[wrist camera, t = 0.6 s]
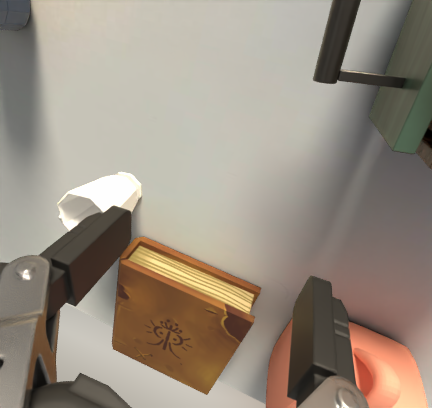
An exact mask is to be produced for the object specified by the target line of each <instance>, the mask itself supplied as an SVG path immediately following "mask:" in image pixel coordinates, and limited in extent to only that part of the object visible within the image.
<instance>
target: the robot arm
mask: <svg viewBox="0 0 432 408" xmlns="http://www.w3.org/2000/svg"><path fill="white" fill-rule="evenodd" d="M130 240H131V211H130V210H127V209H124V208H121V207H118V206H115V205H113V206H111V207H110V208H109V209H107V210H106V211H105V212H104V213H100V212H98V213H95V214H93V215H90V216H88V217H86V218H85V219H84V220H82V221H81V222H80V223H79V224H78V225H77V226H75V227H74V228H72V229H71V230H70V232H67V233H66V234H65V235H63V236H62V237H61V238H60V239H58V240H57V241H56V242H55V243H53V244H52V245H51V246H50V247H48V248H47V249H46V250H45V251H43V252H42V253H41V254H40V255H38V256H37V255H29V256H24V257H20V258H17V259H15V260H13V261H12V262H10V263H1V262H0V408H131V407H130V406H129V405H128V404H127V403H126V402H125V401H124V400H123V399H122V398H121V397H120V396H119V395H118V394H117V393H116V392H114V391H113V390H112V389H111V388H110V387H109V386H108V385H106V384H103V383H101V382H99V381H97V380H95V379H92V378H90V377H88V376H86V375H84V374H82V373H80V374H79V375H78V377H77V378H76V380H75V381H63V382H57V372H56V350H57V339H58V329H59V317H60V308H61V307H62V306H63V305H64V304H65V303H69V304H71V305H73V306H76V305H77V304H78V303H79V302H80V301H81V300H82V299H83V298H84V296H85V295H86V294H87V293H88V292H89V291H90V290H91V288H92V287H93V286H94V285H95V284H96V283H97V282H98V280H99V279H100V278H101V277H102V276H103V275H104V274H105V272H106V271H107V270H108V269H109V268H110V267H111V266H112V265H113V263H114V262H115V261H116V260H117V259H118V258H119V257H120V255H121V254H122V253H123V252H124V251H125V250H126V248H127V247H128V245H129V243H130ZM348 327H349V322H348V314H347V311H346V309H345V307H344V306H343V304H342V302H341V300H339V299H337V298H334V297H332V286H331V283H330V282H329V281H326V280H323V279H320V278H317V277H315V276H310V277H309V279H308V280H307V282H306V284H305V286H304V287H303V289H302V291H301V293H300V294H299V296H298V298H297V300H296V302H295V306H294V310H293V320H292V334H291V348H290V361H289V375H288V389H287V397H289V398H291V399H293V400H296V408H369V405H368V402H367V400H366V398H365V396H364V395H363V393H362V392H361V391H360V389H359V388H358V387H357V384H356V378H355V370H354V362H353V354H352V346H351V339H350V330H349V328H348Z"/></svg>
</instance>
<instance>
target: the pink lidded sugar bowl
mask: <svg viewBox="0 0 432 408" xmlns="http://www.w3.org/2000/svg"><path fill="white" fill-rule="evenodd" d="M292 320H293V318H292V319H291V321H290V322H289V324H288V325H287V327H286V328H285V330H284V331H283V333H282V334H281V336H280V338H279V339H278V341H277V343H276V344H275V346H274V348H273V351H272V354H271V358H270V362H269V368H268V377H267V391H266V408H296V400H293V399H291V398H289V397H287V389H288V375H289V361H290V348H291V334H292ZM348 322H349V321H348ZM348 328H349V330H350V339H351V346H352V354H353V362H354V370H355V378H356V384H357V387H358V388H359V389H360V391H361V392H362V393H363V395H364V396H365V398H366V400H367V402H368V405H369V408H428V405H427V401H426V396H425V392H424V388H423V384H422V380H421V377H420V373H419V370H418V367H417V364H416V362H415V360H414V358H413V356H412V354H411V352H410V351H409V349H408V348H407V347H406V346H404V345H402V344H400V343H398V342H396V341H394V340H392V339H389V338H387V337H385V336H383V335H380V334H378V333H376V332H374V331H371V330H369V329H367V328H364V327H362V326H359V325H357V324H354V323H352V322H349V327H348Z"/></svg>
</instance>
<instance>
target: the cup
mask: <svg viewBox="0 0 432 408" xmlns="http://www.w3.org/2000/svg"><path fill="white" fill-rule="evenodd" d="M141 196H142V191H141V184H140V183H139V182H138V181H137V180H136V179H135V177H134V176H133V175H132V174H128V173H123V172H119V173H118V174H117V175H112V176H108V177H104V178H100V179H98V180H96V181H93V182H91V183H88V184H86V185H83V186H81V187H78V188H76V189H73V190H71V191H68V192H67V193H66V194H65V195H64V197H63V198H62V199H61V200H60V201H59V202H58V203H57V205H58V209H59V212H60V216H59V218H60V220H61V221H62V223H63V225H64V226H66V227H67V228H68V229H69V230H71V229H72V228H74V227H75V226H77V225H78V224H79V223H80V222H81V221H82V220H84V219H85V218H86V217H88V216H90V215H93V214H95V213H98V212H100V213H104V212H105V211H106V210H107V209H109V208H110V207H111V206H113V205H115V206H118V207H121V208H124V209H127V210H130V211H131V213H132V211H133V209H134V207H135V205H136V203H137V201H138V199H139V198H140V197H141Z"/></svg>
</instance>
